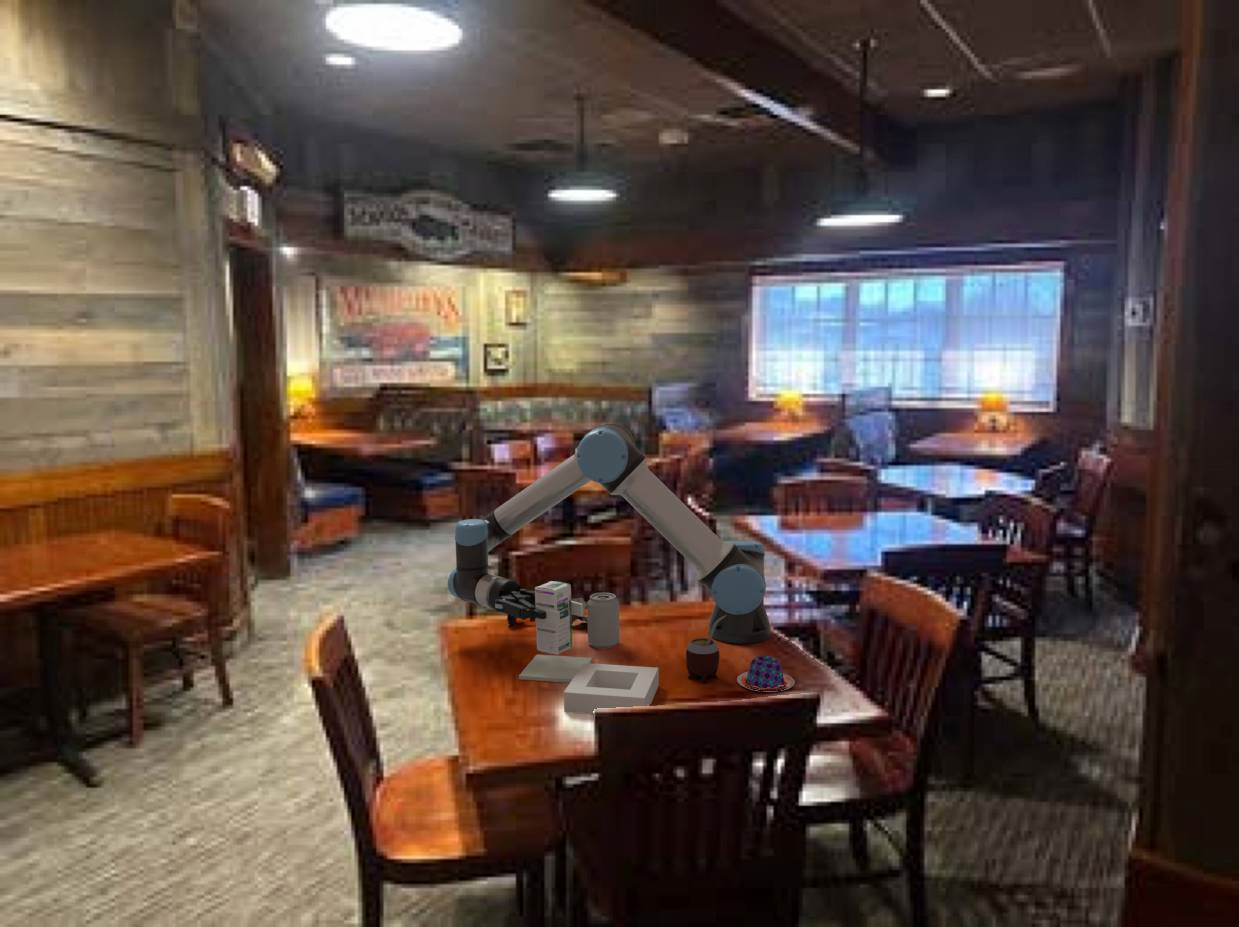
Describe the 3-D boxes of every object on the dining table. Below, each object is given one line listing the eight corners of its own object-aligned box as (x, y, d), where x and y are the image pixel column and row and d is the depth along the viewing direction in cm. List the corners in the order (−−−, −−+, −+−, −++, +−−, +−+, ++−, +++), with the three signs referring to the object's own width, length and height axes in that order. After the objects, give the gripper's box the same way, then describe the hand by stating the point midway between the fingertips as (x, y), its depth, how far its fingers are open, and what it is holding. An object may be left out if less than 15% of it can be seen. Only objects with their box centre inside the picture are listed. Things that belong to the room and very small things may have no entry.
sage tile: (592, 661, 202) (592, 657, 202) (577, 683, 189) (577, 679, 189) (536, 657, 204) (536, 654, 204) (518, 679, 192) (518, 675, 192)
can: (620, 639, 216) (620, 591, 214) (617, 650, 209) (617, 600, 207) (590, 638, 217) (589, 590, 215) (585, 649, 210) (585, 599, 208)
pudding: (805, 682, 189) (805, 658, 188) (775, 699, 180) (776, 675, 179) (756, 669, 197) (756, 646, 196) (725, 685, 188) (725, 661, 187)
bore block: (658, 686, 187) (658, 667, 187) (644, 717, 172) (644, 697, 171) (584, 680, 190) (583, 662, 190) (564, 711, 175) (563, 692, 174)
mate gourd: (683, 672, 194) (683, 605, 192) (719, 671, 195) (719, 604, 193) (689, 685, 187) (689, 616, 185) (726, 684, 188) (727, 615, 186)
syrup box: (557, 655, 192) (556, 589, 190) (535, 650, 195) (534, 585, 193) (572, 647, 197) (572, 583, 195) (551, 642, 200) (550, 579, 198)
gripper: (531, 600, 214) (601, 620, 199) (466, 619, 200) (537, 642, 185) (530, 569, 213) (601, 587, 198) (465, 586, 199) (536, 607, 184)
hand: (570, 613), depth 192 cm, fingers closed on syrup box, 6 cm apart
